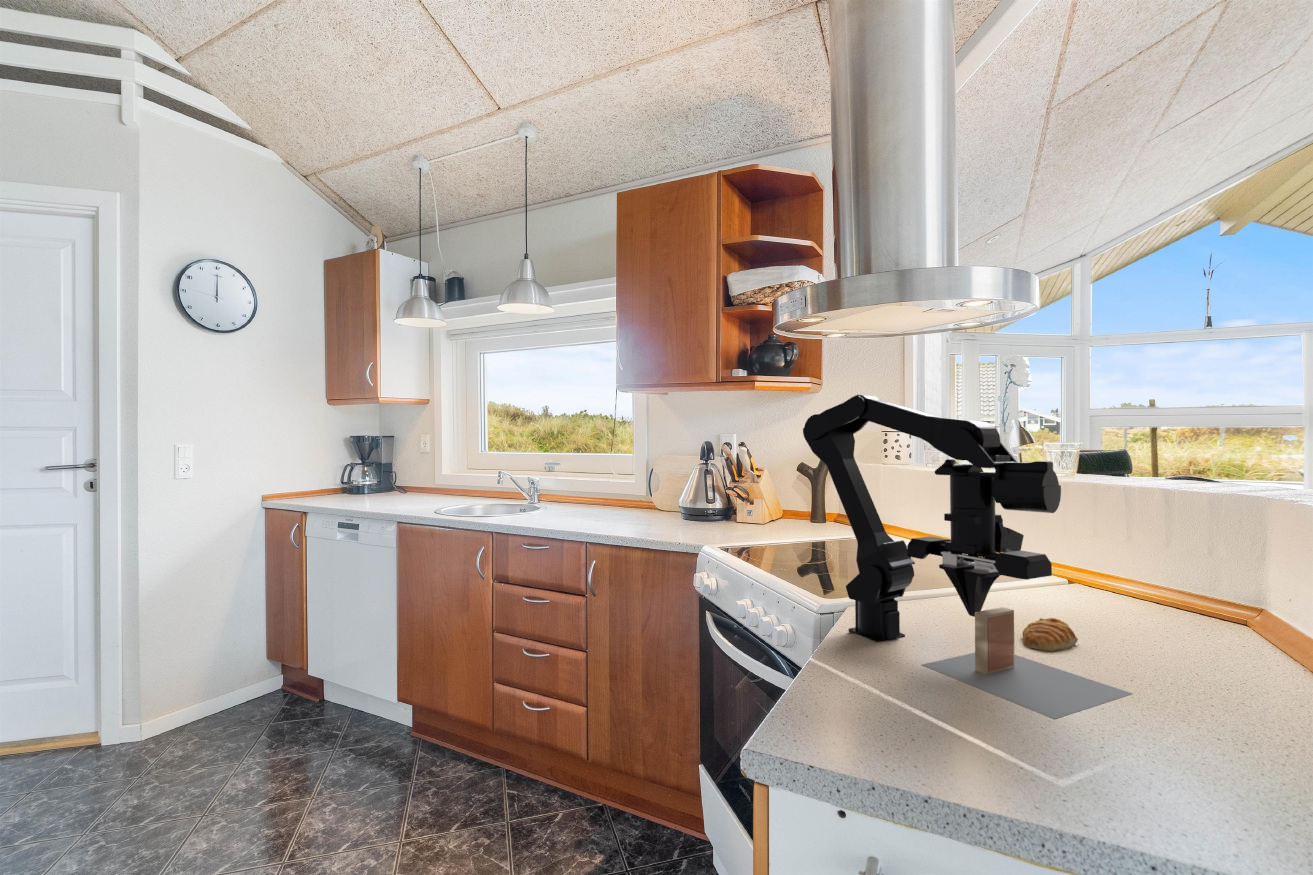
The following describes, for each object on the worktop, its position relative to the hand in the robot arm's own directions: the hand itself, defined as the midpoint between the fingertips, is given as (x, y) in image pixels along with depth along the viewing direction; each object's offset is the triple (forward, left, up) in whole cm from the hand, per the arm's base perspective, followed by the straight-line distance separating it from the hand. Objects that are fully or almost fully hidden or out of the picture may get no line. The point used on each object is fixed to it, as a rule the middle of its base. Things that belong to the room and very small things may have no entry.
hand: (974, 615), depth 83 cm
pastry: (-1, +18, -7) cm, 20 cm away
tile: (+3, 0, -7) cm, 7 cm away
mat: (+7, 0, -7) cm, 10 cm away
